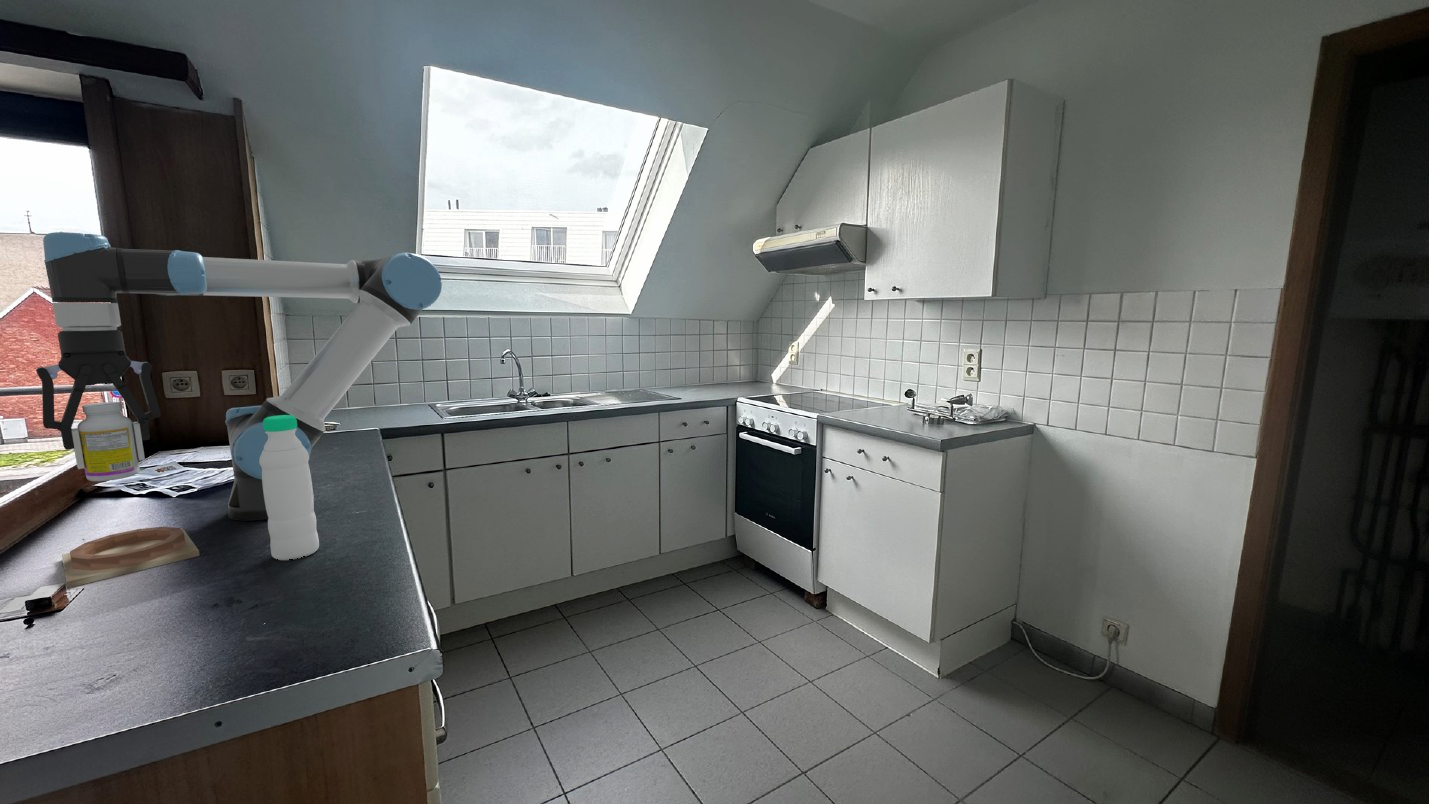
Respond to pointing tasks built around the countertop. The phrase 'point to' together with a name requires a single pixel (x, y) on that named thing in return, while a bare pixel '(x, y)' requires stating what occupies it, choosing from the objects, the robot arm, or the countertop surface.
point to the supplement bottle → (107, 442)
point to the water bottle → (287, 490)
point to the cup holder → (126, 554)
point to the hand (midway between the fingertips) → (111, 462)
